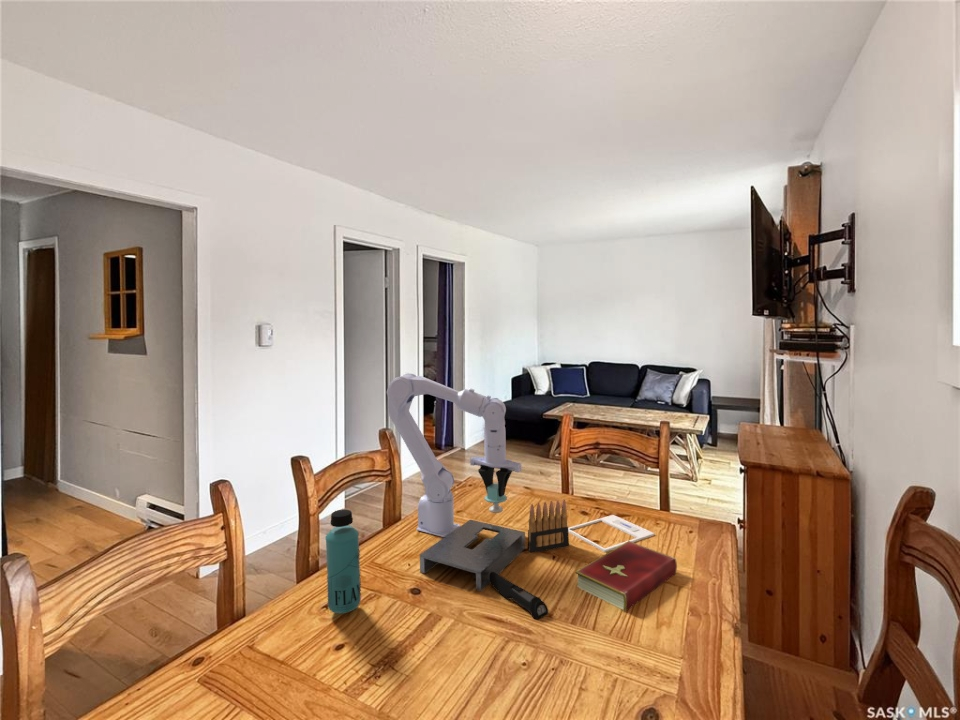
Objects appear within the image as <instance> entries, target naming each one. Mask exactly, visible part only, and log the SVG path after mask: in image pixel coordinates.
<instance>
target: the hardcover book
mask: <svg viewBox="0 0 960 720" xmlns="http://www.w3.org/2000/svg"><path fill="white" fill-rule="evenodd" d="M625 542H626V541H625ZM677 571H678V564H677V559H676V557H674V556H671V555H668V554H665V553H662V552H660V551H657V550H654V549H652V548H649V547H647V546H643V545H641V544H638V543H637V542H630V541H629V540H627V542H626V543H624V544H622V545H620V546H619V547H617V548H615V549H613V550H610V551H607V552H605V553H604V554H603V555H601V556H599V557H598V558H596V559H595V560H593V561H591V562H589V563H588V564H585V565H584V566H582V567H581V568H579V569H577V570H575V572H574V573H575V574H576V575H577V588H578V589H580V590H583V591H585V592H587V593H588V594H590V595H592V596H594V597H596V598H598V599H600V600H602V601H605V602H607V603H608V604H610V605H613V606H614V607H617V608H618V609H620V610H622V612H624V613H625V612H627V611H628V610H629V609H631V608H632V607H633V606H635V605H636V604H637V603H639V602H640V601H641V600H643V599H644V598H646V596H648V595H649V594H651V593H652V592H653V591H655V590H656V589H657V588H659V587H660V586H661V585H662V584H664V583H665V582H667V581H668V580H669V579H671V578H672V577H673V576H675V575H676V574H677ZM650 592H651V593H650Z"/></svg>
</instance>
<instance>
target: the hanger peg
mask: <svg viewBox="0 0 960 720" xmlns="http://www.w3.org/2000/svg"><path fill="white" fill-rule="evenodd" d="M486 494H487V495H485V496H484V501H486V502H488V503H491V504H493V505H492V506H489V508H488V509H489V513H493V514H499V513H502V512H504V511H503V509H504V507H503V506H501V505H499V504H500V503H504V502H507V500H508V496H507V495H506V494H504V495H503V496H502V497H500V496H499V493H498V482H493V484H491V485H490V486H488V487H487V491H486Z"/></svg>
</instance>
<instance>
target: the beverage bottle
mask: <svg viewBox="0 0 960 720" xmlns="http://www.w3.org/2000/svg"><path fill="white" fill-rule="evenodd" d="M353 520H354V518H353V513H352V511H351V510H349V509H345V508H344V509H338V510H335V511H333V512H331V515H330V526H332V527H333V528H331V530H330V531H328V532H327V533H326V536H325V545H326V548H325V550H326V552H325V553H326V570H327V571H326V573H327V576H326V577H327V578H326V588H327V607H328V610H329V611H331V613H334V614H346V613H349V612H353V611H354V610H355V609H357V608H358V607H359V605H360V603H361V600H362V594H361V592H362V583H361V581H362V580H361V579H362V578H361V566H360V559H361V558H360V557H361V554H360V552H361V551H360V544H359V543H360V542H359V534H360V533H359V531H358V530H357V529H356V528H355V527H354V526H352V525H351V524H353V522H354V521H353Z"/></svg>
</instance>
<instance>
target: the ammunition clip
mask: <svg viewBox="0 0 960 720" xmlns="http://www.w3.org/2000/svg"><path fill="white" fill-rule="evenodd" d="M548 507H549V508H548ZM554 507H555V508H554ZM568 528H569V526H568V513H567V502H566V499H565V498H564V499H562V503H560V501H559V500H558V499H557V500H556V503H555V506H554V503H553V500H551V501H550V503H549V506H548V505H547V502H546V501H544V503H543V507H542V508H541V504H540V502H538V503H537V504H536V511H535V506H534V504H533V503H530V507H529V519H528V529H527V549H526V550H527V552H529V553H530V554H533V553H539V552H544V551H549V550H550V551H551V550H555V549H556V550H557V549H562V548H566V547H567V548H568V547H570V539H569V532H568Z"/></svg>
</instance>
